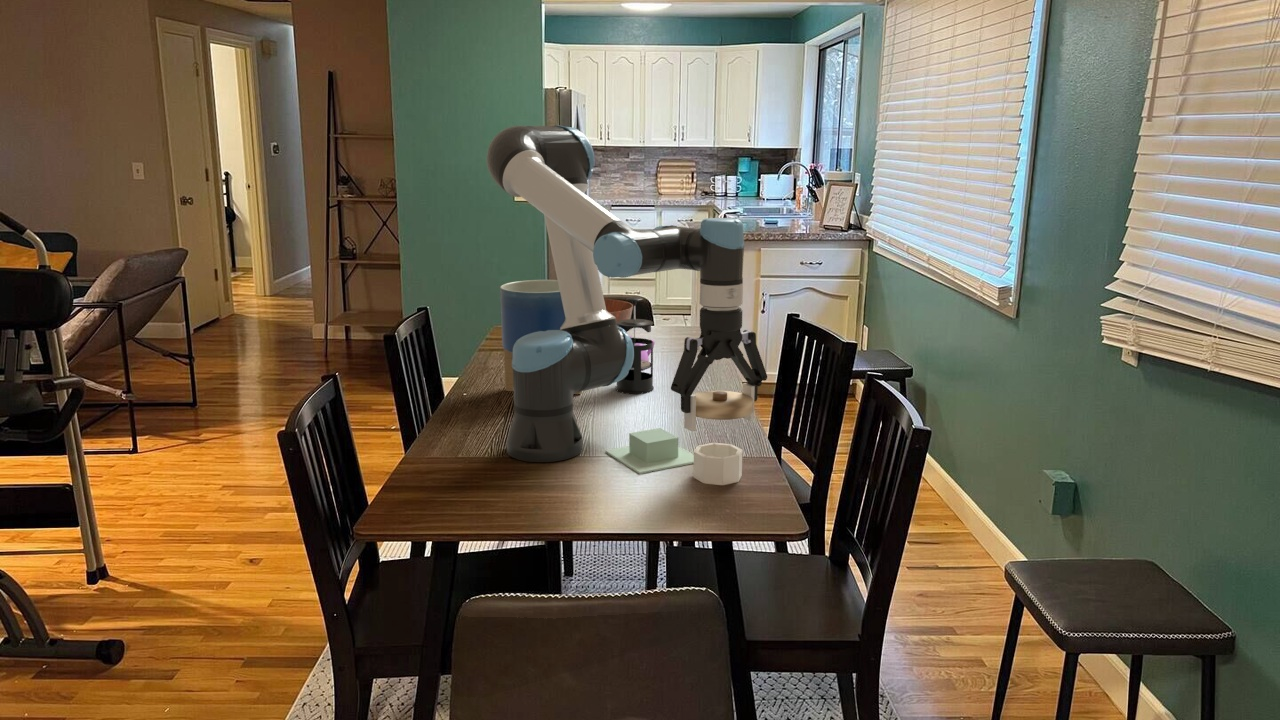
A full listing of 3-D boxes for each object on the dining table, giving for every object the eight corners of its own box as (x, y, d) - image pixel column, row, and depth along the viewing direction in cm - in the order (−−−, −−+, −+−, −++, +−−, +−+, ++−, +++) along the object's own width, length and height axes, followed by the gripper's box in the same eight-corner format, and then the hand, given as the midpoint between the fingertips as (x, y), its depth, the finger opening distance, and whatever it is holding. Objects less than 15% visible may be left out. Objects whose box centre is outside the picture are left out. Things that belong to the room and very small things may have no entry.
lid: (710, 423, 160) (710, 405, 159) (674, 406, 170) (674, 389, 169) (766, 413, 165) (767, 396, 165) (728, 397, 176) (728, 381, 175)
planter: (519, 380, 238) (515, 278, 232) (591, 384, 234) (590, 280, 228) (492, 400, 220) (488, 290, 214) (570, 405, 216) (568, 293, 210)
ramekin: (711, 487, 165) (711, 461, 164) (686, 473, 172) (686, 447, 171) (749, 479, 169) (750, 453, 168) (723, 465, 176) (724, 440, 175)
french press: (657, 394, 225) (657, 300, 220) (618, 395, 224) (618, 301, 218) (648, 381, 237) (649, 292, 231) (612, 383, 235) (611, 293, 230)
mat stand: (639, 474, 172) (639, 451, 171) (605, 452, 184) (605, 431, 183) (703, 461, 179) (703, 439, 178) (666, 441, 190) (666, 420, 189)
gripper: (673, 316, 154) (673, 440, 159) (789, 303, 166) (785, 419, 171) (651, 309, 161) (651, 428, 166) (763, 297, 172) (761, 409, 177)
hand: (719, 424), depth 168 cm, fingers closed on lid, 12 cm apart
